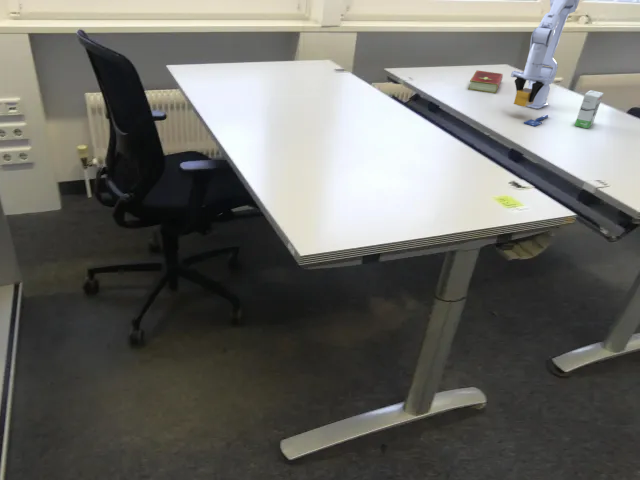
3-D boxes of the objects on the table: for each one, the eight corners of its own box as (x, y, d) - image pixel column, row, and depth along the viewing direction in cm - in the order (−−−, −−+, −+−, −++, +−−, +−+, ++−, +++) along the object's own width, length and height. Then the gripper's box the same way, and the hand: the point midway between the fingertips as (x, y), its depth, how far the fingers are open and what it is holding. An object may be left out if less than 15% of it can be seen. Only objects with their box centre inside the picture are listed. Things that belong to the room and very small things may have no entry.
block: (522, 100, 214) (525, 87, 211) (533, 103, 211) (537, 90, 209) (513, 103, 210) (517, 90, 207) (524, 106, 207) (528, 93, 205)
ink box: (587, 129, 204) (599, 97, 197) (573, 125, 206) (584, 94, 200) (593, 123, 210) (604, 92, 203) (579, 120, 212) (590, 89, 206)
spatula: (541, 115, 215) (542, 112, 215) (552, 118, 213) (553, 115, 212) (523, 123, 207) (524, 120, 206) (534, 126, 204) (535, 123, 203)
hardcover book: (501, 82, 256) (503, 73, 254) (496, 93, 240) (498, 83, 238) (474, 78, 260) (476, 69, 258) (468, 89, 244) (470, 79, 242)
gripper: (511, 60, 204) (501, 97, 212) (549, 68, 196) (538, 106, 203) (520, 58, 209) (510, 94, 216) (557, 65, 200) (546, 103, 207)
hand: (524, 100), depth 210 cm, fingers closed on block, 4 cm apart
